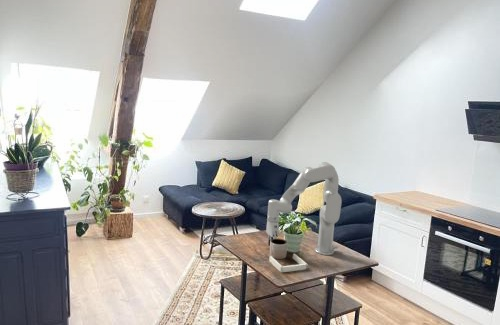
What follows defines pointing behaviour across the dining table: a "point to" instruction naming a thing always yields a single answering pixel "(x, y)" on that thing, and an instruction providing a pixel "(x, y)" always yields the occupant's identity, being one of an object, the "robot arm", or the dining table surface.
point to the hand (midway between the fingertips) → (270, 245)
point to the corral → (301, 265)
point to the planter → (278, 248)
